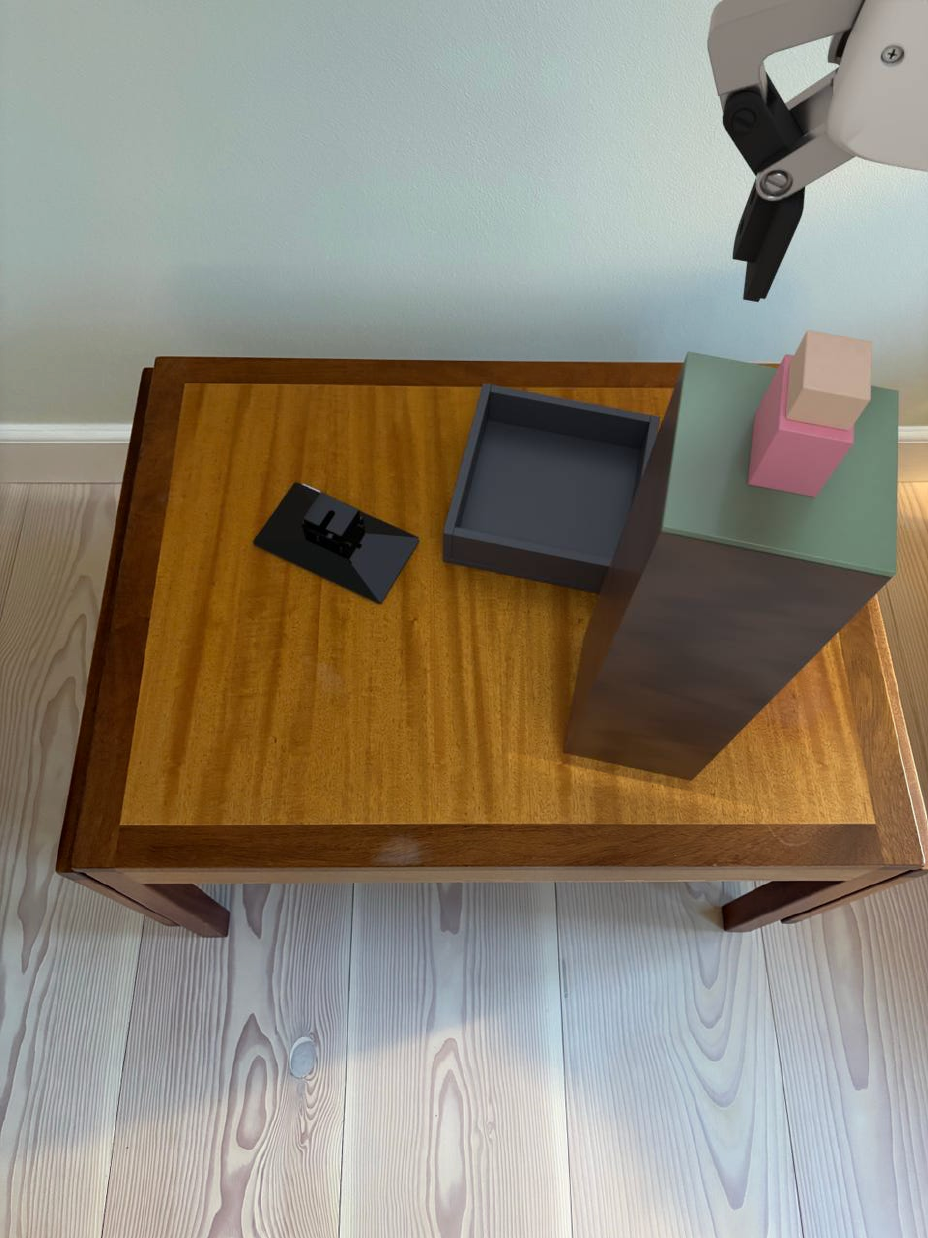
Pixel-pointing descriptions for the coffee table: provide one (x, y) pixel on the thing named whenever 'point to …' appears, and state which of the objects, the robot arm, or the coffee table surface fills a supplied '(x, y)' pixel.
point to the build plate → (337, 542)
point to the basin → (546, 487)
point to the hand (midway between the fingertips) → (891, 297)
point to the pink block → (810, 413)
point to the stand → (726, 576)
